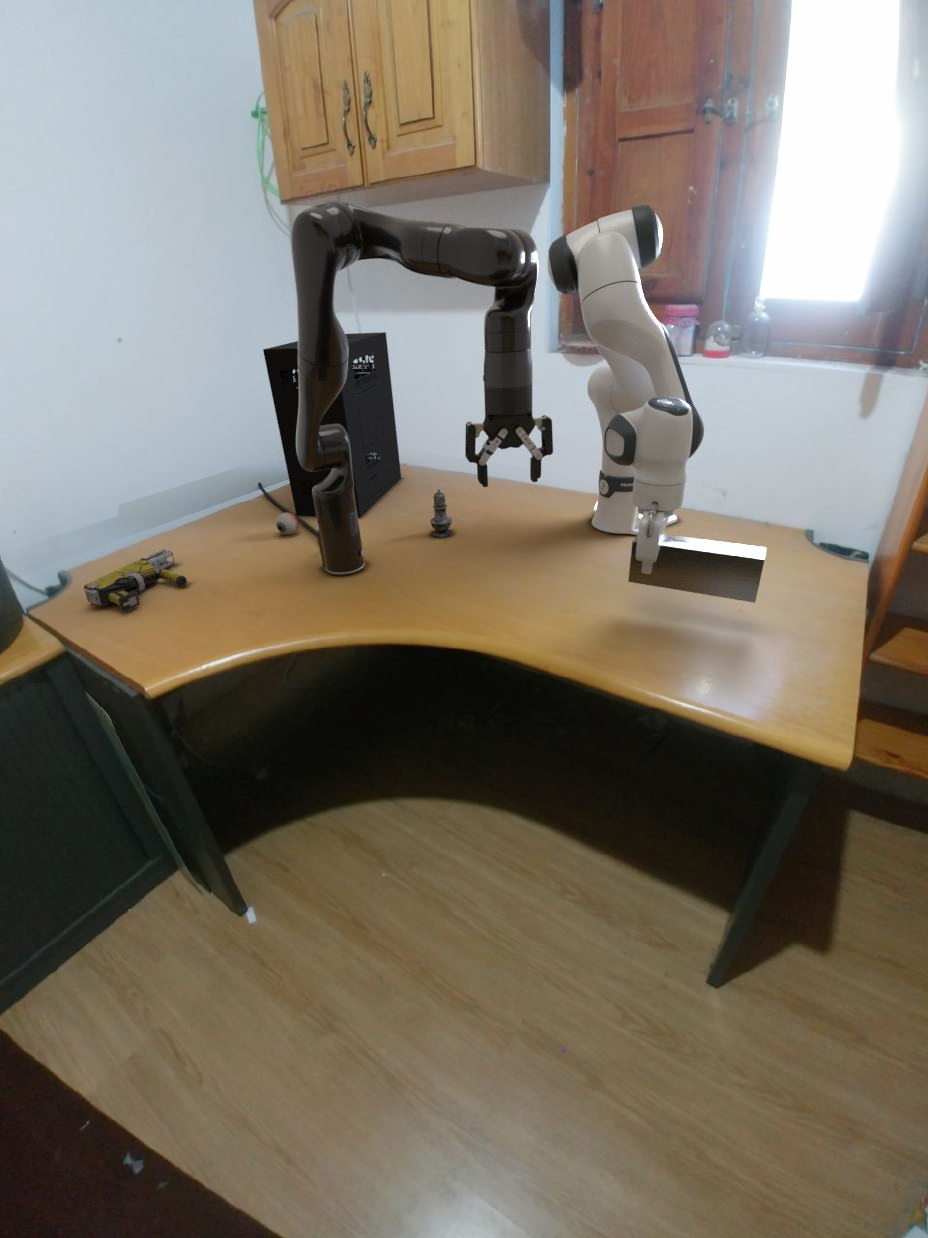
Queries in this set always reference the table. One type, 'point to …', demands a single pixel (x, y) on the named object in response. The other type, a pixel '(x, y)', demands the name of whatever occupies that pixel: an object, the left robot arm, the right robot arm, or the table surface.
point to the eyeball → (287, 523)
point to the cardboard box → (342, 420)
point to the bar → (703, 567)
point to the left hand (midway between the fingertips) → (509, 483)
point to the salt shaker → (440, 517)
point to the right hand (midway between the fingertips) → (649, 564)
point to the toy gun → (132, 581)
